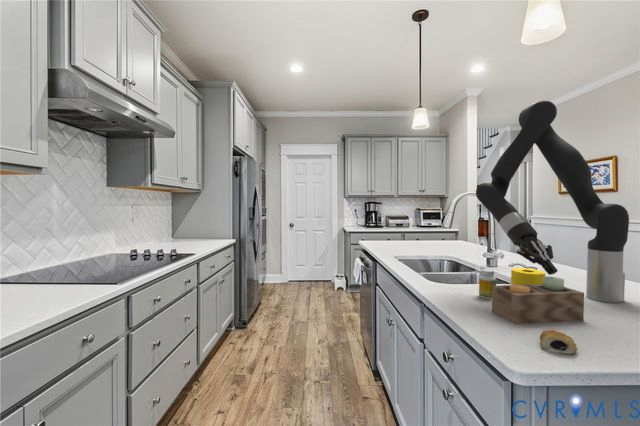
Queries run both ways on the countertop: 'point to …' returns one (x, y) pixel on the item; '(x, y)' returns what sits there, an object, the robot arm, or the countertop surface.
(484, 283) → the supplement bottle
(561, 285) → the sage button
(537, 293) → the wooden compartment box
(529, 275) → the tape roll
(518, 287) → the orange button
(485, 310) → the countertop surface
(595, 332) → the countertop surface
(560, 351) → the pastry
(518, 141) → the robot arm
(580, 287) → the countertop surface
